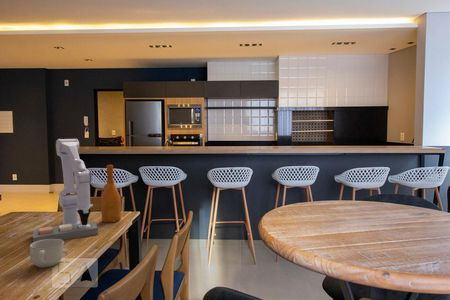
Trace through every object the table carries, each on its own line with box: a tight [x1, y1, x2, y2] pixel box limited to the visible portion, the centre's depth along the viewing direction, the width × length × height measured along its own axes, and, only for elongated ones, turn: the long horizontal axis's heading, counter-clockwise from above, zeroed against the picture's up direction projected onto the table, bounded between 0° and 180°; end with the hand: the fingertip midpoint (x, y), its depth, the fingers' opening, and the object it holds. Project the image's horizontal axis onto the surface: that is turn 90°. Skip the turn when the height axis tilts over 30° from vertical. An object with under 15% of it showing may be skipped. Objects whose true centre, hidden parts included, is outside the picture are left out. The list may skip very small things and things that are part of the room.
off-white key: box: [58, 224, 72, 232], centre depth 147 cm, size 5×5×2 cm
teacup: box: [29, 239, 65, 268], centre depth 115 cm, size 14×11×8 cm
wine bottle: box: [100, 164, 122, 223], centre depth 170 cm, size 10×10×30 cm
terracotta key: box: [38, 226, 53, 235], centre depth 143 cm, size 5×5×2 cm
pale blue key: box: [78, 224, 91, 229], centre depth 152 cm, size 5×5×2 cm
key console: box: [32, 221, 99, 243], centre depth 148 cm, size 12×26×3 cm, turn 121°
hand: (84, 224), depth 152 cm, fingers closed
